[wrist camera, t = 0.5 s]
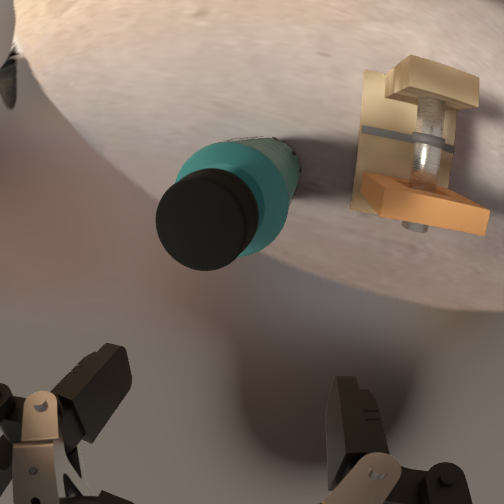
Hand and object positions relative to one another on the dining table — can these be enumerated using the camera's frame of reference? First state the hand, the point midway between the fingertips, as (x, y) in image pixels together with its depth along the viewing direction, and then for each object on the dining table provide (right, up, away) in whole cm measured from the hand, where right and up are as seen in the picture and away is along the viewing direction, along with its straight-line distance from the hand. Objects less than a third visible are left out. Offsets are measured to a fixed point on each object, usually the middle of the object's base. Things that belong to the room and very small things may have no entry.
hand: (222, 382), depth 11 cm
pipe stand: (+16, +14, +16) cm, 27 cm away
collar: (+16, +11, +16) cm, 25 cm away
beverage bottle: (+3, +13, +19) cm, 24 cm away
